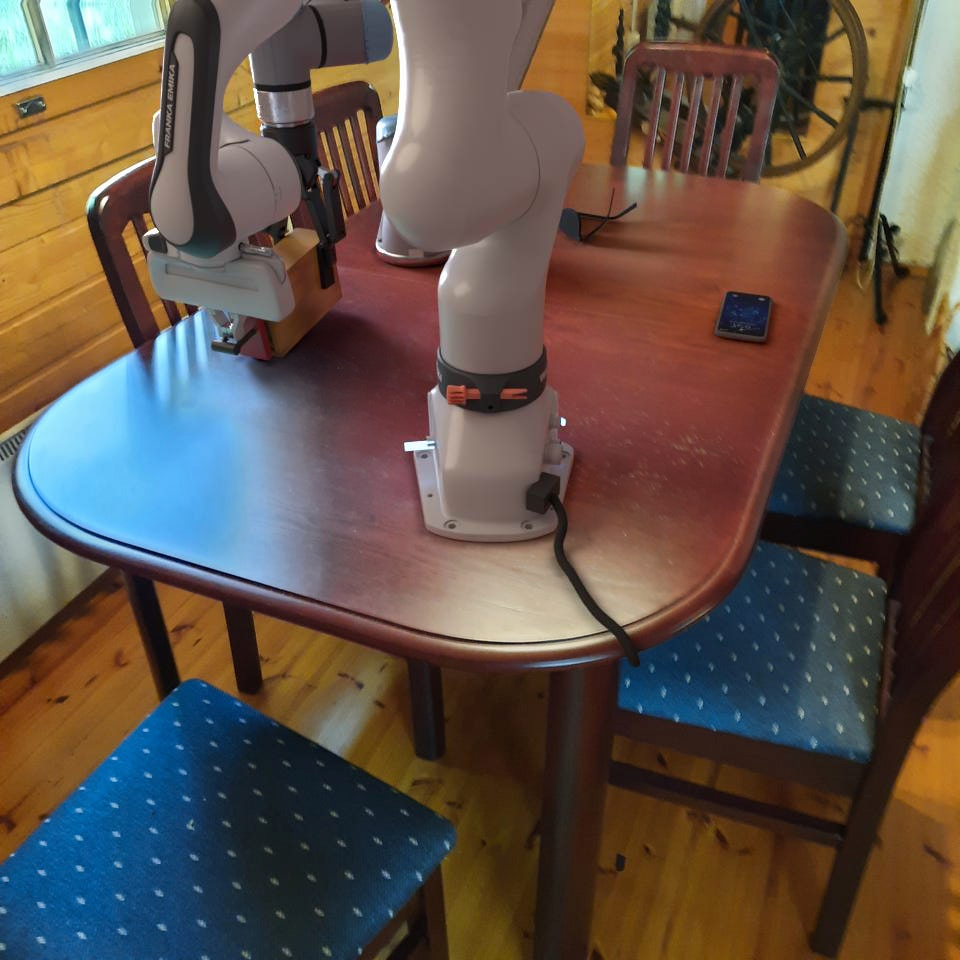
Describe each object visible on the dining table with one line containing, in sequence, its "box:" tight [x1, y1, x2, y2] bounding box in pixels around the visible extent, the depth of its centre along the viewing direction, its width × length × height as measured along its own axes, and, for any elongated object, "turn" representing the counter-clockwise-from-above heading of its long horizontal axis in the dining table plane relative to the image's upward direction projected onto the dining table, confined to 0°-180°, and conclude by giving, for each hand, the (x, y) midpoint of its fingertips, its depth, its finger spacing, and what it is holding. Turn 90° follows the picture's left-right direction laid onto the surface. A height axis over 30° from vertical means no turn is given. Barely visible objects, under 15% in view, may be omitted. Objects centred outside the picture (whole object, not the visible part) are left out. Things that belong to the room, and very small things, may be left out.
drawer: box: [210, 312, 274, 361], centre depth 121 cm, size 22×5×9 cm, turn 157°
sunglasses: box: [558, 187, 638, 242], centre depth 159 cm, size 17×14×5 cm
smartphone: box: [714, 290, 774, 343], centre depth 128 cm, size 7×1×15 cm
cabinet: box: [267, 227, 343, 359], centre depth 125 cm, size 18×6×11 cm, turn 157°
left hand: (309, 282), depth 129 cm, fingers closed on cabinet, 6 cm apart
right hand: (232, 337), depth 116 cm, fingers closed, pressing on drawer
